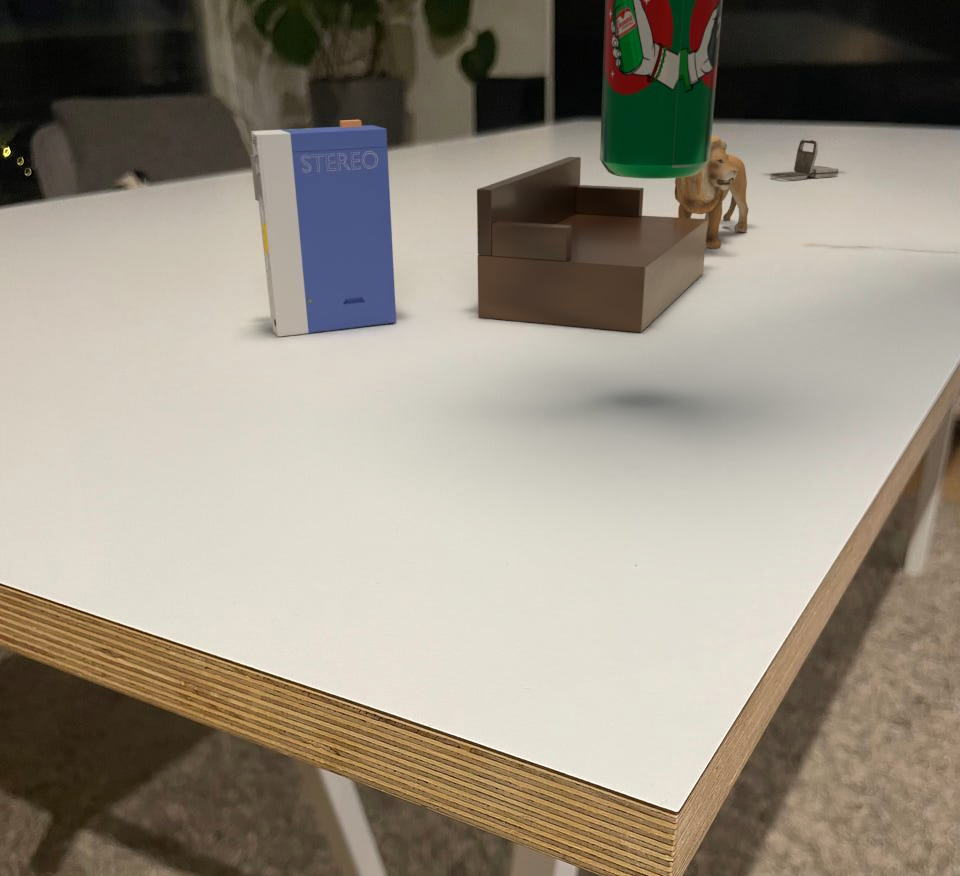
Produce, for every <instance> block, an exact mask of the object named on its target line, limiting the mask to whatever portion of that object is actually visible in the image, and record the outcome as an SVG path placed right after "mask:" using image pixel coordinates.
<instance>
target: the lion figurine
mask: <svg viewBox="0 0 960 876" xmlns="http://www.w3.org/2000/svg"><path fill="white" fill-rule="evenodd" d="M727 147H728V145H727V143H726V141H725V140H723V139H722V138H721V137H720V136H718V135H712V138H711V151H710V160H709V161H708V163H707V164H706V165H705V167H704V168H703V169H702V170H701V171H700V172H699V173H697V174H695V175H692V176H687V177H680V178H674V185H675V186H674V199H675V201H677V203H678V204H679V205H678V211H677V215H678V217H677V218H692V215H693V214H696V215H704V219H708V222H707V233H706V245H705V248H707V249H720V248H721V247H722V243H721V242H720V241H719V232H720V231H719V230H720V223H721V221H722V222H731V218H732V216H733V214H734V211H736V207H737V208H738V219H737V223H736V224H735V225H734V231H736V232H740V233H744V232H747V231H748V213H749V206H748V203H747V188H748V187H747V185H748V181H747V180H748V179H747V172H746V165H745V163H744V161H743V160H742V159H741V158H739V157H737V156H735V155H733V154H730V153H727V152H726V151H727ZM729 192H730V193H731V199H730V204H729V207H728V209H727V211H726V212H725V214H724V215H723V202H724V200H725V199H726V198H727V196H728V194H729Z"/></svg>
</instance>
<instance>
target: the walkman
mask: <svg viewBox="0 0 960 876" xmlns="http://www.w3.org/2000/svg"><path fill="white" fill-rule="evenodd" d="M250 136H251V142H252V143H251V144H252V145H251V146H252V153H253V154H250V163H251V172H252V180H253V190H254V198H255V201H257V203H258V211H259V219H260V220H259V221H260V229H261V236H262V237H261V238H262V248H263V257H264V265H265V275H266V285H267V294H268V302H269V304H268V305H269V311H270V313H269V314H270V321H271V327H272V331H273V333H274V334H275V335H276V336H277V338H279V337H286V336H287V337H288V336H297V335H304V334H305V335H306V334H312V333H322V332H329V331H337V330H347V329H353V328H362V327H370V326H378V325H387V324H394V323H395V324H396V323H397V311H396V310H397V309H396V294H395V293H396V292H395V291H396V290H395V273H394V270H395V269H394V253H393V252H394V249H393V233H392V230H393V229H392V214H391V213H392V209H391V193H390V191H391V190H390V173H389V153H388V151H389V149H388V133H387V128H386V127H382V126H377V125H373V124H370V125H369V124H367V125H363V123H362V120H361V119H346V120H345V119H344V120H343V119H342V120H339V126H329V127H309V128H308V127H307V128H306V127H305V128H288V129H287V128H285V129H265V130H250Z"/></svg>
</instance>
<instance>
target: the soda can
mask: <svg viewBox="0 0 960 876" xmlns="http://www.w3.org/2000/svg"><path fill="white" fill-rule="evenodd" d="M723 2H724V0H605V1H604V3H605V4H604V7H605V8H604V29H603V30H604V31H603V58H602V59H603V60H602V61H603V62H602V85H601V86H602V87H601V88H602V89H601V90H602V91H601V113H600V114H601V115H600V117H601V118H600V141H599V142H600V145H599V160H600V162H601V164H602V166H603V167H604V168H605V170H606V171H607V173H609V174H611V175H613V176H615V177H616V176H617V177H622V178H628V179H629V178H631V179H647V180H648V179H650V180H651V179H652V180H654V179H657V180H658V179H659V180H660V179H676V178H680V177H687V176H692V175H695V174H697V173H699V172H700V171H701V170H702V169H703V168H704V167H705V165H706V164H707V163H708V161H709V160H710V151H711V138H712V136H713V125H714V112H715V100H716V90H717V89H716V88H717V75H718V65H719V52H720V41H721V39H720V38H721V27H722V14H723Z"/></svg>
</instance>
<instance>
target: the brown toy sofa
mask: <svg viewBox="0 0 960 876" xmlns="http://www.w3.org/2000/svg"><path fill="white" fill-rule="evenodd" d="M581 162H582V159H581V157H580V156H567V157H565V158H562V159H558V160H557V161H553V162H550V163H548V164H545V165H541V166H539V167H536V168H533V169H531V170H528V171H525V172H523V173H519V174H517V175H514V176H511V177H508V178H505V179H503V180H500V181H496V182H494V183H490V184H488V185H485V186H483V187H480V188H477V189H476V219H477V220H476V222H477V223H476V227H477V230H476V231H477V314H478V315H477V316H478V318H481V319H492V320H493V319H494V320H504V321H513V322H526V323H534V324H543V325H544V324H545V325H546V324H547V325H557V326H565V327H567V326H568V327H576V328H588V329H599V330H609V331H620V332H629V333H639V334H640V333H643V331H644V330H646V328H648V327H649V326H650V325H651V323H653V322H654V321H655V320H656V319H657V318H658V317H659V316H660V315H661V314H662V313H664V311H666V309H667V308H668V307H670V306H671V304H673V303H674V302H675V301H676V300H677V299H678V298H679V297H680V296H681V295H682V294H683V293H684V292H685V291H686V290H688V288H690V287H691V286H692V284H694V283H695V282H696V281H697V280H698V279H699V278H701V276H702V275H703V274H704V266H705V257H706V233H707V222H708V219H705V218H697V217H695V218H694V217H691V218H679V217H677V216H676V217H675V216H659V215H658V216H657V215H643V208H644V207H643V206H644V204H643V203H644V190H645V189H644V187H632V186H612V185H610V186H609V185H589V184H588V185H587V184H581V168H582V167H581V166H582V163H581Z"/></svg>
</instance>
